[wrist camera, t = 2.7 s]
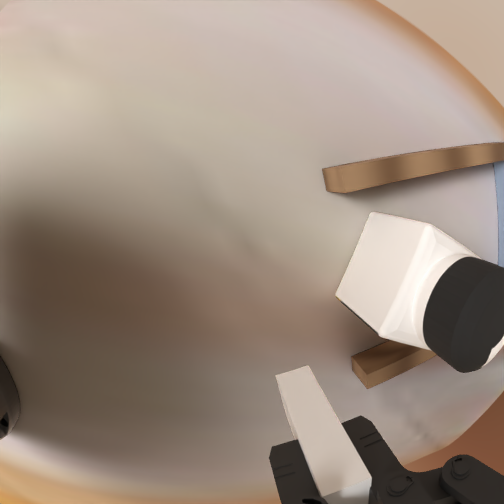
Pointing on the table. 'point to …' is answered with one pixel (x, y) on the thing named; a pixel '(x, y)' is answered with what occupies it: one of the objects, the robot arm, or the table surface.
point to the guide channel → (383, 172)
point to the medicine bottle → (425, 291)
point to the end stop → (500, 207)
